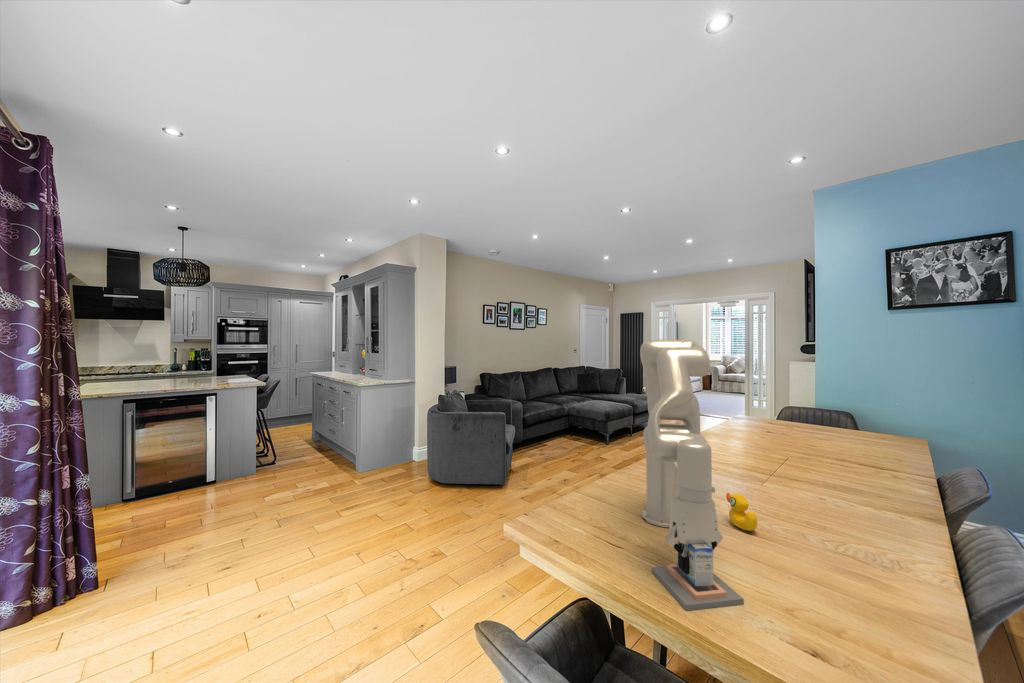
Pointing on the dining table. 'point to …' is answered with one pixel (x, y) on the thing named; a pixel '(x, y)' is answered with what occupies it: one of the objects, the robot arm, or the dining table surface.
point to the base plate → (696, 590)
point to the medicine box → (700, 564)
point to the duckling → (741, 512)
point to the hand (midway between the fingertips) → (694, 569)
